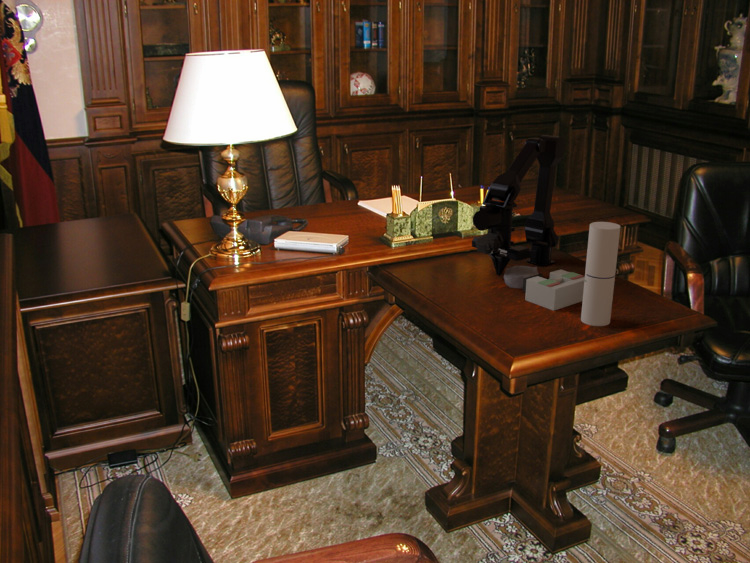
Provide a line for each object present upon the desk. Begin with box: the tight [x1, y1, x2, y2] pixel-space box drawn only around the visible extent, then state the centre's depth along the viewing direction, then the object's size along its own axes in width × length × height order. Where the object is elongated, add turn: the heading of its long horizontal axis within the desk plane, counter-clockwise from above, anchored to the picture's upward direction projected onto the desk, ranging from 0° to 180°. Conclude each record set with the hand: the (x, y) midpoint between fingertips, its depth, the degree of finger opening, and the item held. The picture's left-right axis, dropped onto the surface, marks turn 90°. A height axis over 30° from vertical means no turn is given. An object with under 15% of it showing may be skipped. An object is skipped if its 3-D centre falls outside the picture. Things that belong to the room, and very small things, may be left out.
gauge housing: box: [524, 269, 585, 312], centre depth 200 cm, size 14×10×6 cm
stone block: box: [503, 265, 539, 289], centre depth 215 cm, size 12×5×10 cm
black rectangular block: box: [522, 273, 563, 293], centre depth 204 cm, size 7×9×5 cm
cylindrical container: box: [580, 221, 621, 327], centre depth 183 cm, size 7×7×25 cm
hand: (499, 275), depth 217 cm, fingers closed
